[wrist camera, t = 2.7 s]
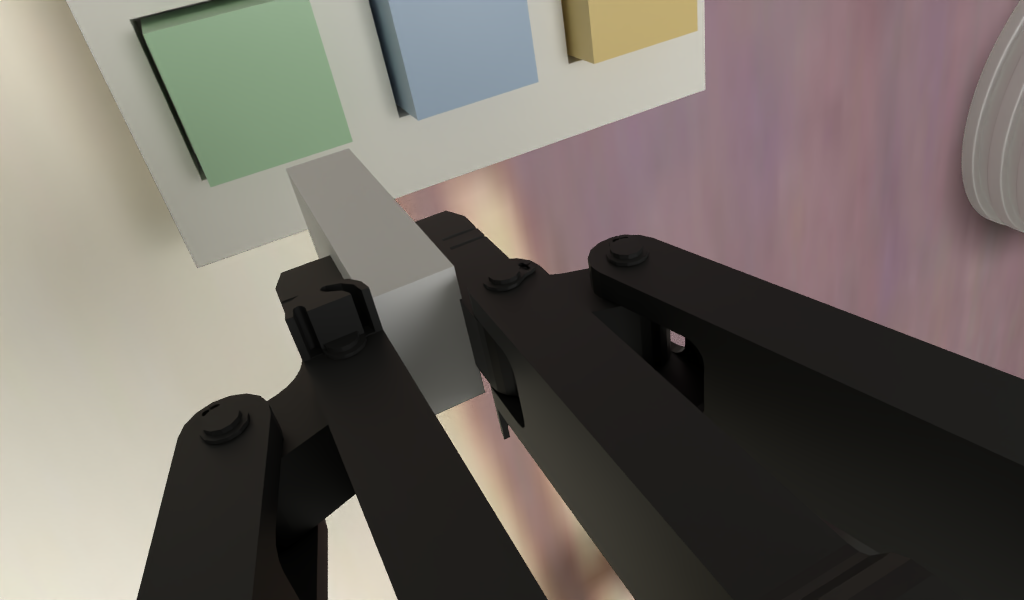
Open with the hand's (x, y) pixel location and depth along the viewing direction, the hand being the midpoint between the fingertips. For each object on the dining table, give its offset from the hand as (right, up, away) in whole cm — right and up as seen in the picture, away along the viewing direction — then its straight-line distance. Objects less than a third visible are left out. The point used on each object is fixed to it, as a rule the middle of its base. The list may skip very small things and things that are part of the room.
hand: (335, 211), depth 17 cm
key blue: (+1, +11, +16) cm, 20 cm away
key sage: (-7, +8, +14) cm, 18 cm away
